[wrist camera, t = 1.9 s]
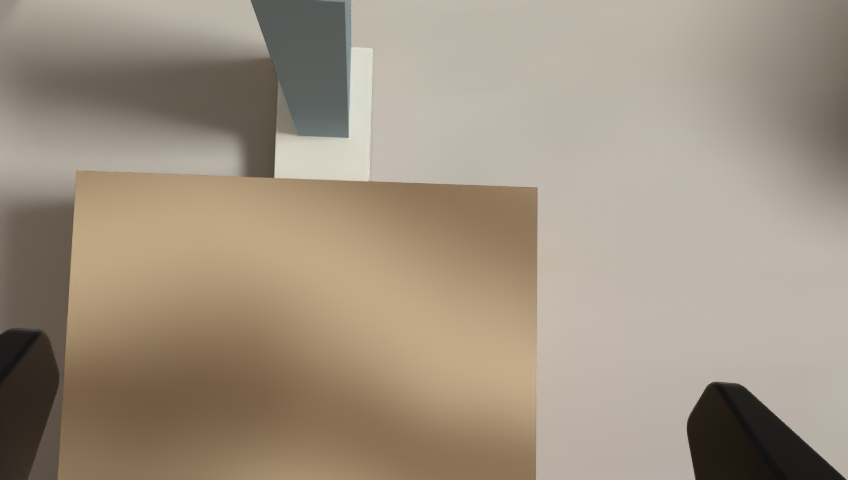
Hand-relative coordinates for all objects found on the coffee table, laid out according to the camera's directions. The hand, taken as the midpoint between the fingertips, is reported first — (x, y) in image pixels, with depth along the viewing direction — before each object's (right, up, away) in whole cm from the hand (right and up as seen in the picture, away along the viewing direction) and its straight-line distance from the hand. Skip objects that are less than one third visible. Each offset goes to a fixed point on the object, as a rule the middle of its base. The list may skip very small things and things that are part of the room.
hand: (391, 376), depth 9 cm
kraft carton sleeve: (-3, -3, +13) cm, 14 cm away
